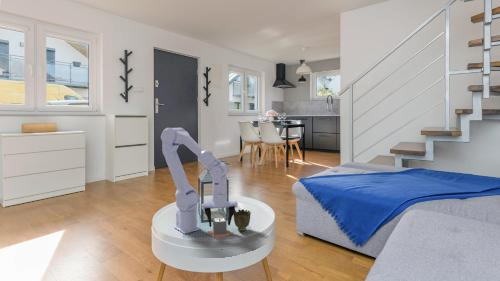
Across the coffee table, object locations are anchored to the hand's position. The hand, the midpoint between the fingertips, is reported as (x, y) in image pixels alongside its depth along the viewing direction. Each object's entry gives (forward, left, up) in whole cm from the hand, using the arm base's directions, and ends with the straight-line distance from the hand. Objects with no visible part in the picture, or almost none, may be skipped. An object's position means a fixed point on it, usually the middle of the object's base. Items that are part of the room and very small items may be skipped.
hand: (219, 225), depth 116 cm
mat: (0, 0, -3) cm, 3 cm away
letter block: (0, 0, -3) cm, 3 cm away
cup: (+4, +9, -4) cm, 10 cm away
